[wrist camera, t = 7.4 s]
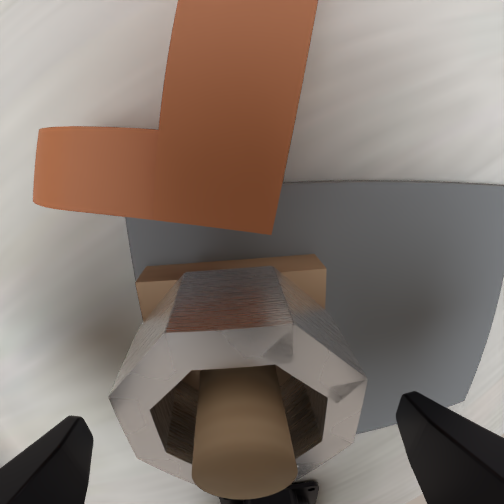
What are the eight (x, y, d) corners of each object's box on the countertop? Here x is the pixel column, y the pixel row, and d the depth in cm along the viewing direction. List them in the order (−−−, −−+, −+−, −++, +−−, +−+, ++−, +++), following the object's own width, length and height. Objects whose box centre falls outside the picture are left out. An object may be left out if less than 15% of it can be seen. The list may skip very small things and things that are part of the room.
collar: (321, 408, 12) (344, 473, 8) (165, 419, 11) (153, 487, 8) (331, 260, 10) (378, 312, 6) (127, 276, 10) (84, 333, 6)
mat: (459, 395, 16) (464, 400, 15) (183, 443, 15) (182, 452, 14) (506, 185, 12) (514, 187, 11) (128, 195, 11) (122, 198, 10)
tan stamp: (310, 383, 13) (350, 507, 7) (174, 393, 13) (153, 521, 7) (314, 253, 11) (398, 363, 5) (146, 266, 11) (71, 385, 5)
